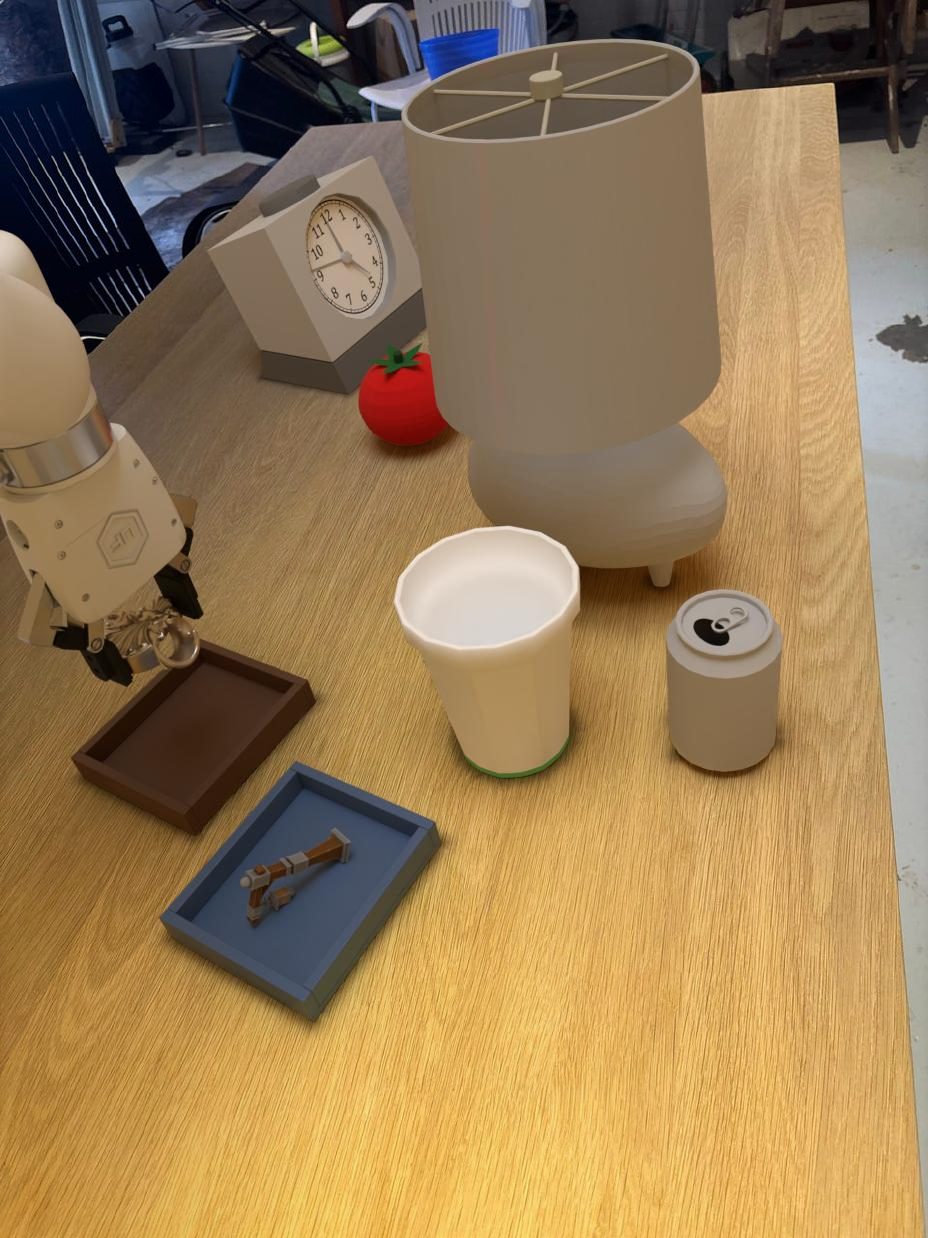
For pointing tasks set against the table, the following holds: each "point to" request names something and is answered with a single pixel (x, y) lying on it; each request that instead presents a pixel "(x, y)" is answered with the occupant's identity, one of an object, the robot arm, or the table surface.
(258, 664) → the walnut tray
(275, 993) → the blue tray
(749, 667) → the can
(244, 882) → the wooden post with brackets
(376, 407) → the tomato
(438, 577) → the cup
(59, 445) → the robot arm
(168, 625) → the ornament
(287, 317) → the alarm clock
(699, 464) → the table lamp
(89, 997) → the table surface
